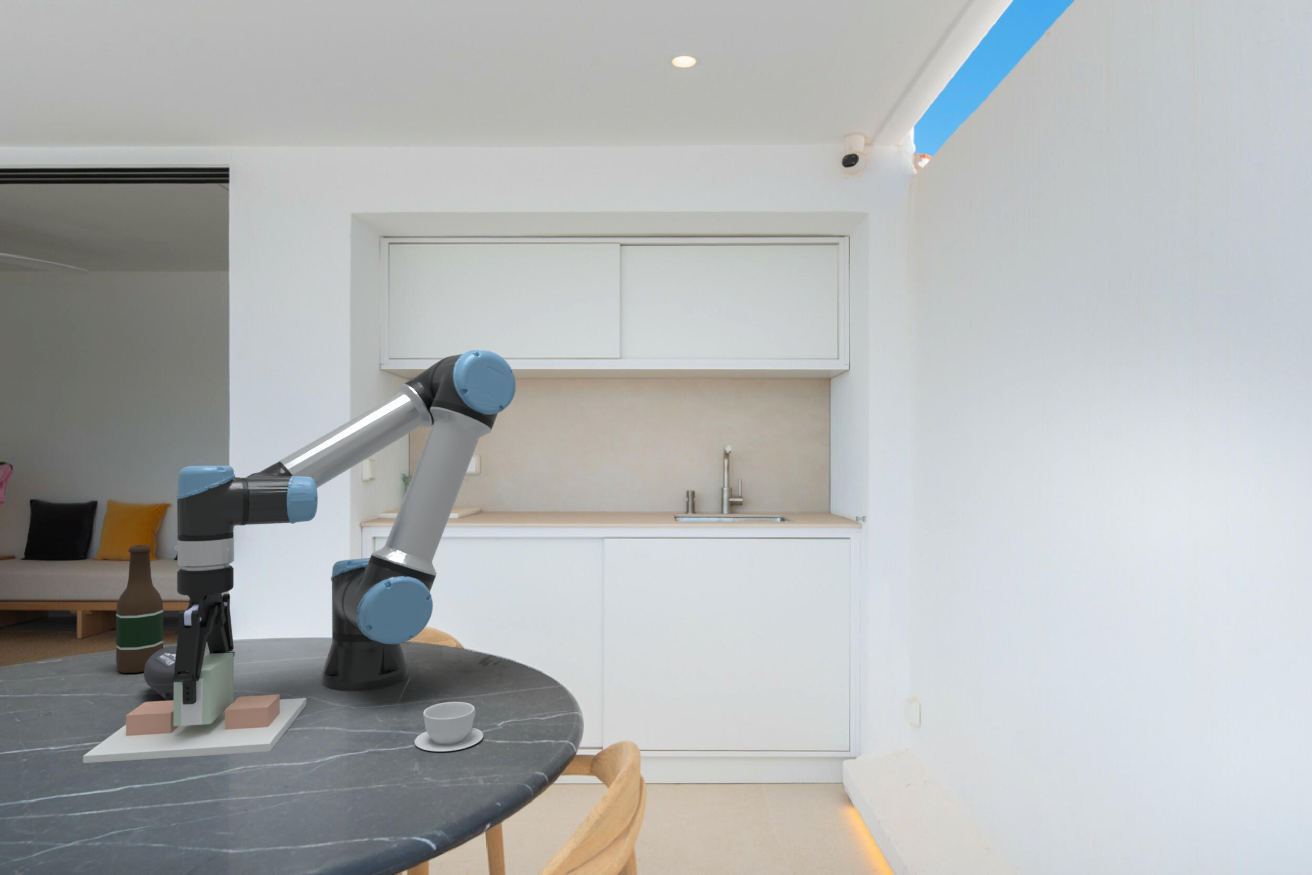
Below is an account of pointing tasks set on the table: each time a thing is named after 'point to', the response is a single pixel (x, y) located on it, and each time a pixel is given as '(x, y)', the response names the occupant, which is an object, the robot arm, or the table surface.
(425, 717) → the teacup
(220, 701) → the key block
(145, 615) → the beer bottle
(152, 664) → the glasses case
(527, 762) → the table surface
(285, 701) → the slot base
